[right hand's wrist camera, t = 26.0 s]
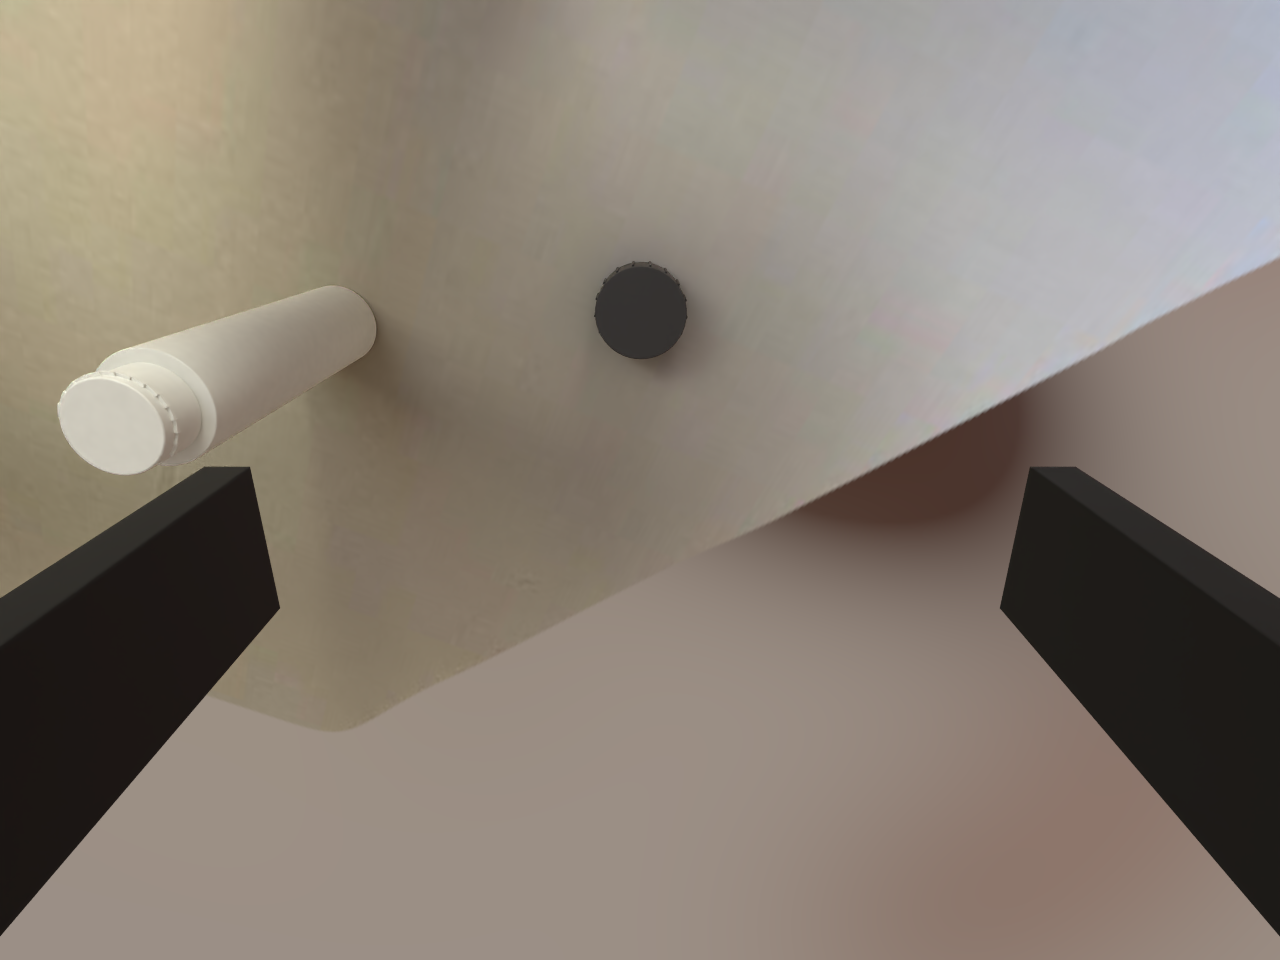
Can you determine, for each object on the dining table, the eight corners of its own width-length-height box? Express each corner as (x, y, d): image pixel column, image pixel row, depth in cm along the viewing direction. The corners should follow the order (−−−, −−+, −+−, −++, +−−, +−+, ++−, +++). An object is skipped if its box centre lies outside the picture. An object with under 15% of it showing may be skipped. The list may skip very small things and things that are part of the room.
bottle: (383, 300, 39) (186, 387, 22) (368, 371, 41) (173, 505, 24) (306, 274, 39) (43, 343, 22) (294, 348, 40) (39, 467, 23)
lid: (578, 314, 39) (574, 322, 37) (632, 241, 38) (632, 244, 36) (647, 368, 41) (648, 378, 38) (703, 298, 39) (707, 305, 37)
